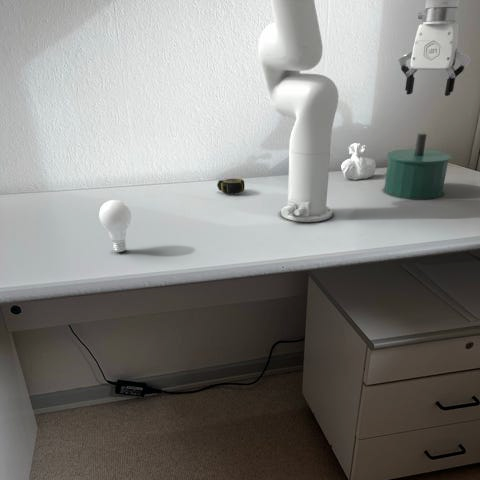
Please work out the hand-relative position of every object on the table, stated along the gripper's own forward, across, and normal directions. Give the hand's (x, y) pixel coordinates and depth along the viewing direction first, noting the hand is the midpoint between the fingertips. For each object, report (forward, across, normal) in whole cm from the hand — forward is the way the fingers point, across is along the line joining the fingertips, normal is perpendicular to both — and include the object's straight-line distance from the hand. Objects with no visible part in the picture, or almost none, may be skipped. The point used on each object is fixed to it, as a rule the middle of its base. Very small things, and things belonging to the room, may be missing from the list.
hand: (428, 94), depth 128 cm
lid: (+16, 0, 0) cm, 16 cm away
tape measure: (+26, -45, -26) cm, 58 cm away
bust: (+26, -20, +8) cm, 33 cm away
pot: (+25, 0, 0) cm, 25 cm away
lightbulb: (+26, -40, -76) cm, 90 cm away
